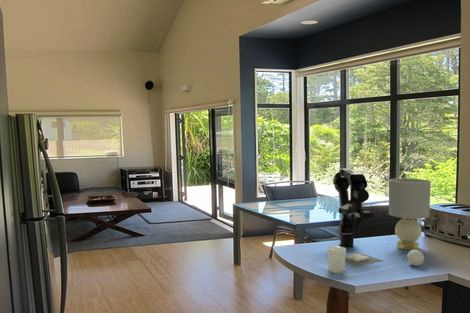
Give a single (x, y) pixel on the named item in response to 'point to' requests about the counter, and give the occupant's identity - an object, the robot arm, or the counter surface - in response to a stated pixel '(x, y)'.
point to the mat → (354, 263)
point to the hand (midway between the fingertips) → (355, 229)
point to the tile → (357, 257)
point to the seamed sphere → (415, 257)
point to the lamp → (409, 209)
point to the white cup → (336, 259)
